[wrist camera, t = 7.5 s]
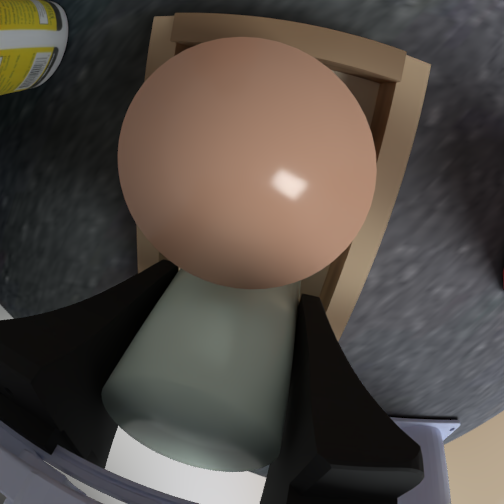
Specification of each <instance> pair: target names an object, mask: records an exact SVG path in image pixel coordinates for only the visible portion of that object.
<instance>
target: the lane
mask: <svg viewBox="0 0 504 504" xmlns="http://www.w3.org/2000/svg"><path fill="white" fill-rule="evenodd" d="M231 37H255V38H263V39H268V40H273V41H277V42H281V43H283V44H286V45H289V46H292V47H294V48H297V49H299V50H301V51H303V52H305V53H307V54H308V55H310V56H312V57H314V58H315V59H317V60H318V61H320V62H321V63H322V64H324V65H325V66H326V67H328V68H329V69H330V70H331V71H332V72H333V73H334V74H335V75H336V76H337V77H338V78H339V79H340V80H341V81H342V82H343V83H344V84H345V85H346V86H347V88H348V89H349V90H350V92H351V93H352V94H353V96H354V97H355V98H356V100H357V102H358V103H359V105H360V107H361V109H362V111H363V113H364V115H365V116H366V119H367V122H368V125H369V127H370V130H371V133H372V137H373V141H374V146H375V151H376V166H377V174H376V185H375V191H374V195H373V200H372V204H371V207H370V209H369V212H368V214H367V217H366V219H365V222H364V223H363V225H362V227H361V229H360V230H359V232H358V234H357V236H356V237H355V238H354V240H353V241H352V242H351V243H350V245H349V246H348V247H347V249H346V250H345V251H343V252H342V253H341V254H340V255H339V256H338V257H337V258H336V259H335V260H334V261H333V262H331V263H330V264H329V265H327V266H326V267H325V268H323V269H322V270H320V271H318V272H317V273H315V274H313V275H311V276H309V277H307V278H305V279H302V280H301V287H300V298H299V302H300V299H301V296H302V293H303V294H308V295H312V296H316V297H319V298H320V299H321V302H322V304H323V307H324V310H325V313H326V315H327V318H328V320H329V323H330V325H331V327H332V330H333V332H334V334H335V336H336V338H337V341H339V339H340V337H341V335H342V333H343V331H344V328H345V326H346V324H347V322H348V320H349V318H350V315H351V313H352V311H353V309H354V306H355V304H356V302H357V300H358V297H359V295H360V293H361V290H362V288H363V286H364V283H365V281H366V278H367V276H368V274H369V271H370V269H371V266H372V264H373V261H374V259H375V256H376V253H377V251H378V248H379V246H380V243H381V240H382V238H383V235H384V232H385V229H386V227H387V224H388V221H389V218H390V215H391V213H392V210H393V207H394V204H395V201H396V198H397V195H398V192H399V189H400V185H401V182H402V179H403V176H404V173H405V169H406V166H407V162H408V159H409V156H410V152H411V149H412V145H413V141H414V138H415V134H416V130H417V126H418V122H419V118H420V114H421V110H422V106H423V101H424V97H425V92H426V88H427V83H428V78H429V73H430V68H431V64H428V63H426V62H423V61H421V60H418V59H416V58H413V57H410V56H408V55H406V53H407V52H406V51H403V50H400V49H398V48H395V47H392V46H389V45H386V44H383V43H380V42H376V41H373V40H370V39H366V38H363V37H359V36H356V35H352V34H348V33H344V32H341V31H336V30H332V29H328V28H323V27H319V26H314V25H309V24H303V23H298V22H292V21H286V20H279V19H272V18H264V17H256V16H246V15H234V14H217V13H175V16H156V17H154V20H153V26H152V31H151V37H150V43H149V50H148V57H147V64H146V71H145V80H144V82H145V81H146V80H147V79H148V78H149V77H150V76H151V75H152V74H153V72H154V71H155V70H156V69H158V68H159V67H160V66H161V65H163V64H164V63H165V62H166V61H168V60H169V59H170V58H172V57H174V56H175V55H177V54H179V53H181V52H182V51H184V50H186V49H188V48H191V47H193V46H196V45H198V44H201V43H204V42H208V41H212V40H216V39H221V38H231ZM163 259H164V260H168V259H167V258H166V257H165V256H163V255H162V254H161V253H160V252H159V251H158V250H157V249H156V248H155V247H154V246H153V245H152V244H151V243H150V241H149V240H148V239H147V238H146V237H145V235H144V234H143V233H142V231H141V230H140V228H139V227H138V226H137V261H138V273H140V272H142V271H143V270H145V269H147V268H149V267H150V266H152V265H154V264H156V263H157V262H159V261H161V260H163ZM168 261H170V260H168ZM179 270H180V268H179V267H178V271H179Z"/></svg>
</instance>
